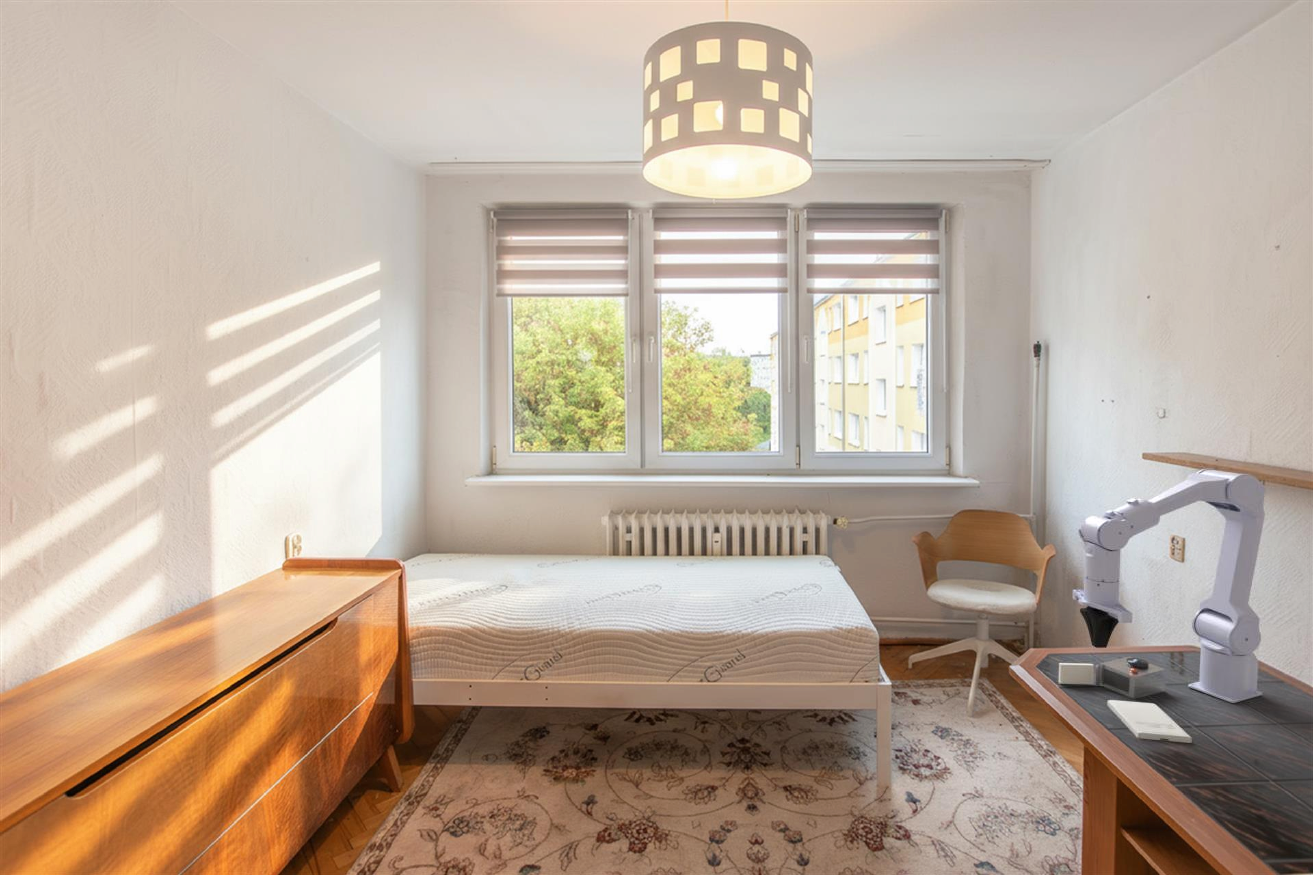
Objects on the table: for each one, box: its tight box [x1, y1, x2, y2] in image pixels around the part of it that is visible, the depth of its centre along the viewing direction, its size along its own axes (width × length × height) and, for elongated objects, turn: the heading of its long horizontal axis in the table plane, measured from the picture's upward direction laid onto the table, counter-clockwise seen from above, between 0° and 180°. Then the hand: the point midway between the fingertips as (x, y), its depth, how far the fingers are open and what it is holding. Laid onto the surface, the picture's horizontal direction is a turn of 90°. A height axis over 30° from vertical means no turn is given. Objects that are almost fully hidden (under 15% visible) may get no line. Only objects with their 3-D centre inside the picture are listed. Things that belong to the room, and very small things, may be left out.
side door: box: [1057, 662, 1101, 686], centre depth 138 cm, size 1×8×4 cm, turn 86°
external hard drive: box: [1106, 699, 1193, 744], centre depth 122 cm, size 2×8×12 cm
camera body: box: [1099, 656, 1167, 700], centre depth 136 cm, size 9×7×6 cm
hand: (1099, 646), depth 133 cm, fingers closed
